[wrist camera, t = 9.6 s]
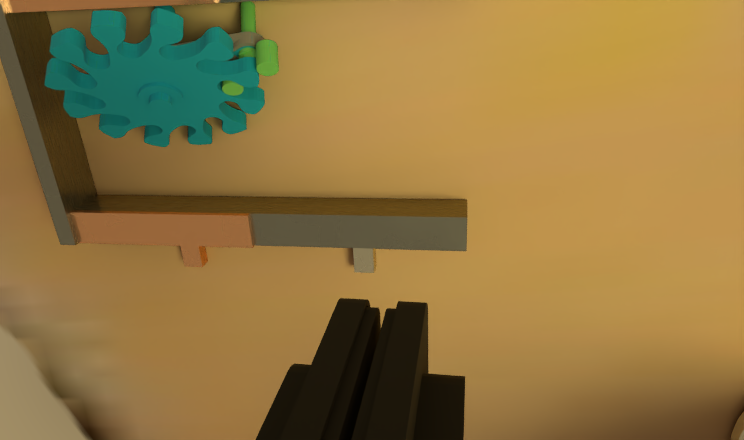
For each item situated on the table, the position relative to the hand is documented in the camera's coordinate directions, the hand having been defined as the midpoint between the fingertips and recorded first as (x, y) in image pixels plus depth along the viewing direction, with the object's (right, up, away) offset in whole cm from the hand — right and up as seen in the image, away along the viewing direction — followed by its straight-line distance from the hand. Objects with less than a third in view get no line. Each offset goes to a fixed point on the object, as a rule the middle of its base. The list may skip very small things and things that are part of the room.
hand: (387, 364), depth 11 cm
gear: (-9, +11, +20) cm, 25 cm away
